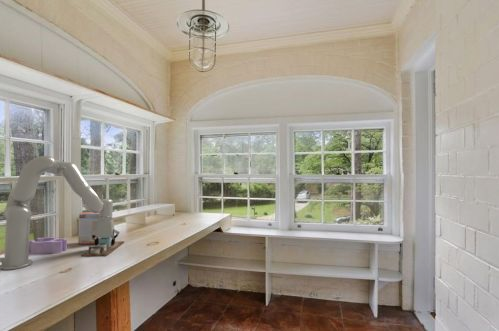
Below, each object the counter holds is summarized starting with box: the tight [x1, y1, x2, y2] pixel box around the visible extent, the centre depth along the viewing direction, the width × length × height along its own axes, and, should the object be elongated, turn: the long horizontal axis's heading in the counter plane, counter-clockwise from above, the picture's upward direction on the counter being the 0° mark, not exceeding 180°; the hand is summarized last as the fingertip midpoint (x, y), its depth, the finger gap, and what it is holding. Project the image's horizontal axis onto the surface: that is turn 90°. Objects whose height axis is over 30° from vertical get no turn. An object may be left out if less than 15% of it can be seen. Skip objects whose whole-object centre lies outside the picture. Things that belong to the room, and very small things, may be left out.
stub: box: [99, 237, 112, 248], centre depth 168 cm, size 5×5×6 cm
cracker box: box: [77, 211, 102, 245], centre depth 179 cm, size 14×6×21 cm, turn 90°
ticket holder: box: [81, 240, 125, 257], centre depth 168 cm, size 14×28×5 cm, turn 6°
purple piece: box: [29, 236, 68, 255], centre depth 161 cm, size 20×12×7 cm, turn 88°
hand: (104, 245), depth 168 cm, fingers open, 9 cm apart
